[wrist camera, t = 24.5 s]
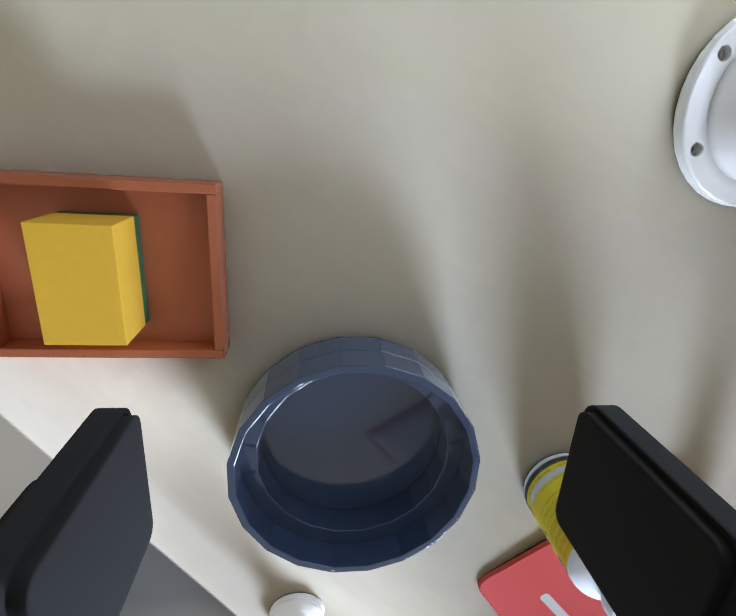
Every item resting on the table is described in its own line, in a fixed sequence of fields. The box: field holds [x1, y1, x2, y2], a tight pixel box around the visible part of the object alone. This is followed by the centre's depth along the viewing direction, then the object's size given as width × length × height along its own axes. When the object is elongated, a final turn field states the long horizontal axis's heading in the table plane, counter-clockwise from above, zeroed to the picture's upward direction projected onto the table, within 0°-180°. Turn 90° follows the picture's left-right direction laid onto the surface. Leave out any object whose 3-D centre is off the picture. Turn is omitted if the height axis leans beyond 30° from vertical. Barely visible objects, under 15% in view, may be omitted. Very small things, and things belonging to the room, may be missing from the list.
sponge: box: [21, 211, 150, 345], centre depth 27 cm, size 7×4×4 cm, turn 176°
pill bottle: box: [524, 453, 616, 616], centre depth 34 cm, size 6×6×12 cm
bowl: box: [227, 337, 480, 572], centre depth 34 cm, size 17×17×5 cm
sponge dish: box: [0, 170, 229, 358], centre depth 29 cm, size 11×14×2 cm
